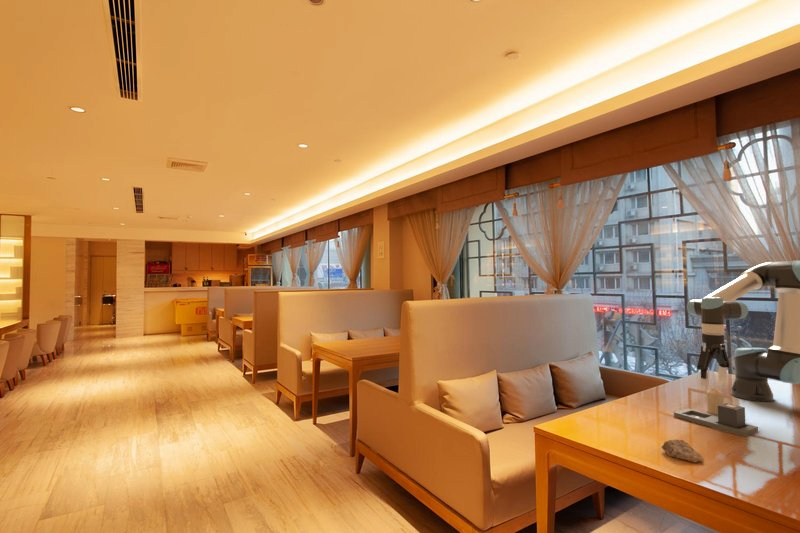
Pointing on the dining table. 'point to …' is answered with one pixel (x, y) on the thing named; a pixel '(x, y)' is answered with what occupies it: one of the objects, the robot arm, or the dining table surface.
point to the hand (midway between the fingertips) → (714, 384)
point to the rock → (681, 450)
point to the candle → (714, 401)
